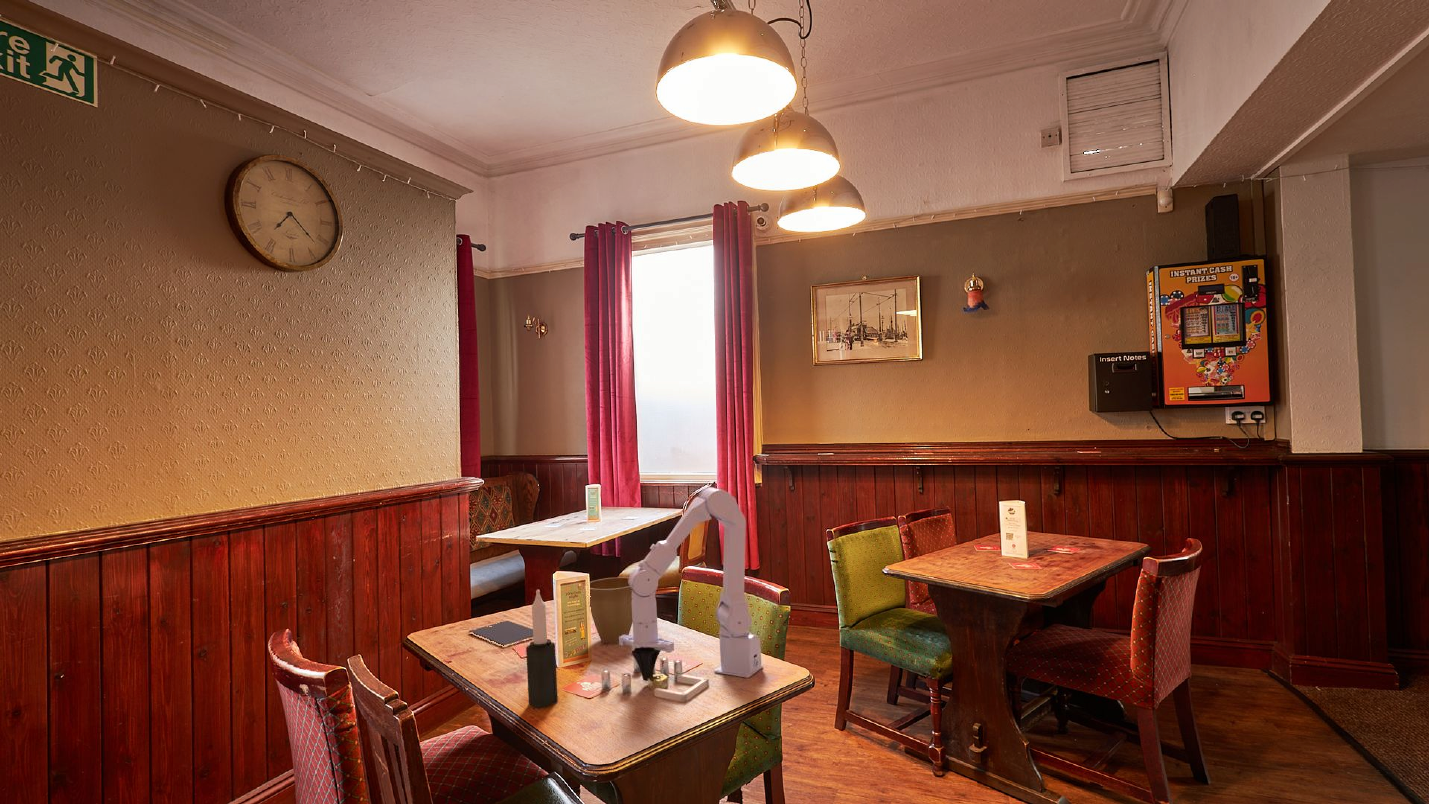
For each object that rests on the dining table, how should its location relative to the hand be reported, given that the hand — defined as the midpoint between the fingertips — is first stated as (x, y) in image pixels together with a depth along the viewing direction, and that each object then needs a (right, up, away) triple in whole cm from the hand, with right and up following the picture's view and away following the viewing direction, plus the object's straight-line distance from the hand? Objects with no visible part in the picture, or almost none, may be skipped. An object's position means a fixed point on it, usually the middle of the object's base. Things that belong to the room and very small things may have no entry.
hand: (647, 679), depth 161 cm
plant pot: (-12, -3, +34) cm, 37 cm away
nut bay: (+8, -1, -5) cm, 10 cm away
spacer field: (-1, -1, +1) cm, 2 cm away
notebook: (-46, -5, +44) cm, 64 cm away
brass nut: (+3, -1, -2) cm, 3 cm away
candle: (-22, -3, -8) cm, 24 cm away
